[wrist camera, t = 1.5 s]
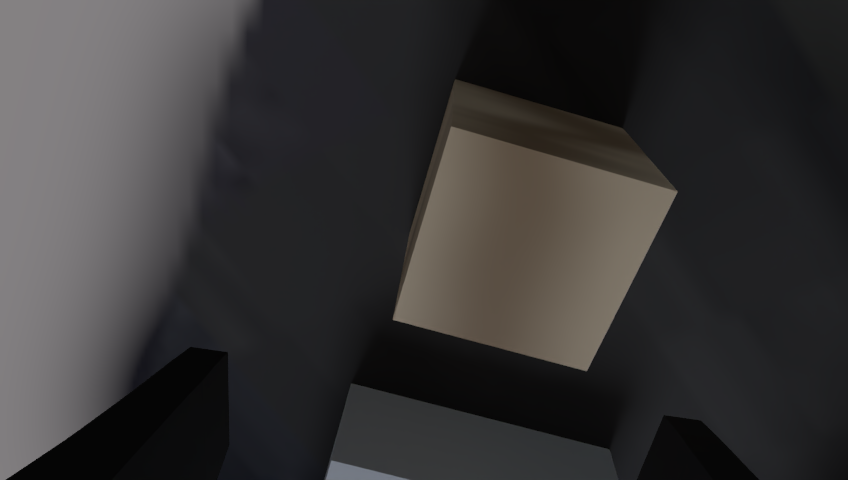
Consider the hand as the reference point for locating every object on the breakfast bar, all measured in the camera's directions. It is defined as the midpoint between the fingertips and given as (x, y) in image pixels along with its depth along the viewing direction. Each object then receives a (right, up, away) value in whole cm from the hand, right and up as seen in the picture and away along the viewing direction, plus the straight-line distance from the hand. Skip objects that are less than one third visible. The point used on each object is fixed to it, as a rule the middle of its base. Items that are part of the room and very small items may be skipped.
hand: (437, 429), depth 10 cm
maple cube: (+2, +5, +8) cm, 10 cm away
